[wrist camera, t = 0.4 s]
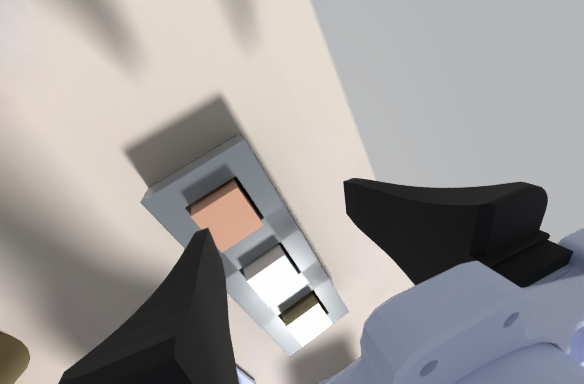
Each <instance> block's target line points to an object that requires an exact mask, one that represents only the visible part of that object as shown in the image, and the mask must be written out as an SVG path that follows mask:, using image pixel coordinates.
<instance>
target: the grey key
mask: <svg viewBox="0 0 584 384" xmlns="http://www.w3.org/2000/svg"><path fill="white" fill-rule="evenodd" d="M243 270H244V274H245V278H246V281H247V282H248V284H249V285H250V286H251V287H252V288H253V289H254V291H255V292H256V293H257V294H258V295H259V296H260V297H261V299H262V300H263V301H264V302H265V303H266V304H267V305H268V307H269V306H270V305H272V304H273V303H274V302H276V301H277V300H279V299H280V298H281V297H283V296H284V295H286V294H287V293H288V292H290V291H291V290H293V289H294V288H295V287H297V286H298V285H300V284H301V283H302V282H303V281H302V279H301V277H300V276H299V274H298V272H297V271H296V269H295V267H294V265H293V264H292V262H291V261H290V259H289V258H288V256H287V255H286V253H285V252H284V250H283V249H282V247H281V246H280V245H279V243H278V244H277V245H275V246H274V247H272V248H271V249H269V250H268V251H266V252H265V253H263V254H262V255H260V256H259V257H257V258H256V259H254V260H253V261H252V262H250V263H249V264H247V265H246V266H244V267H243Z"/></svg>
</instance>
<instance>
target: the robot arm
mask: <svg viewBox="0 0 584 384" xmlns="http://www.w3.org/2000/svg"><path fill="white" fill-rule="evenodd" d="M343 183H344V193H345V203H346V213H347V215H348V216H349V217H350V219H351V220H352V221H353V222H354V224H355V225H356V226H357V227H358V228H359V229H360V230H361V231H362V232H363V233H364V234H366V235H367V236H368V237H369V238H370V239H371V240H372V241H373V242H375V243H376V244H377V245H378V246H379V247H380V248H381V249H382V250H383V251H385V252H386V253H387V254H388V255H389V256H390V257H391V258H392V259H393V260H394V261H395V263H396V264H397V265H398V266H399V267H400V268H401V269H402V270H403V272H404V273H405V274H406V275H407V276H408V277H409V279H410V280H411V281H412V282H413V283H414V285H415V286H414V287H412V288H410V289H408V290H406V291H404V292H402V293H399V294H397V295H395V296H393V297H391V298H390V299H388V300H387V301H385V302H384V303H383V304H381V305H380V306H378V307H377V308H376V309H375V310H374V311H373V312H372V314H371V315H370V316H369V318H368V319H367V320H366V322H365V323H364V327H363V331H362V335H361V340H360V344H361V356H360V357H359V358H358V359H356V360H355V361H354V362H353V363H351V364H350V365H349V366H347V367H346V368H345V369H344V370H342V371H340V372H338V373H336V374H335V375H333V376H331V377H329V378H327V379H325V380H323V381H322V382H320V383H318V384H584V228H583V229H580V230H578V231H576V232H574V233H572V234H570V235H568V236H566V237H564V238H563V239H561V240H560V242H559V243H558V244H556V243H553V242H551V241H549V240H547V239H549V237H550V235H549V234H548V233H546V232H543V231H541V230H539V229H540V226H541V223H542V219H543V217H544V214H545V211H546V207H547V201H548V197H547V194H546V192H545V190H544V189H543V188H542V187H539V186H536V185H532V184H529V183H525V182H515V183H507V184H500V185H492V186H480V187H465V188H429V187H413V186H405V185H397V184H391V183H385V182H379V181H373V180H367V179H360V178H352V179H349V180H346V181H343ZM58 384H256V382H255V381H254V380H252V379H251V378H250V377H249V376H247V375H246V374H245V373H244V372H242V371H241V370H240V369H239V368H238V367H236V364H235V358H234V353H233V347H232V341H231V336H230V329H229V320H228V304H227V289H226V277H225V272H224V267H223V262H222V259H221V256H220V254H219V252H218V249H217V247H216V245H215V242H214V240H213V237H212V235H211V233H210V230H209V228H205V229H202V230H199V231H196V232H195V233H194V235H193V236H192V238H191V240H190V242H189V243H188V245H187V247H186V249H185V250H184V252H183V254H182V255H181V257H180V259H179V260H178V262H177V263H176V265H175V266H174V267H173V269H172V270H171V272H170V273H169V275H168V276H167V277H166V279H165V280H164V281H163V283H162V284H161V285H160V286H159V287H158V289H157V290H156V291H155V292H154V293H153V294H152V296H151V297H150V298H149V299H148V300H147V301H146V302H145V303H144V304H143V305H142V306H141V307H140V308H139V309H138V310H137V311H136V312H135V313H134V314H133V315H132V316H131V317H130V318H129V319H128V320H127V321H126V322H125V323H124V324H123V325H121V326H120V327H119V328H118V329H117V330H116V331H115V332H114V333H112V334H111V335H110V336H109V337H108V338H107V339H105V340H104V341H103V342H102V343H101V344H100V345H98V346H97V347H96V348H94V349H93V350H92V351H91V352H89V353H88V354H87V355H86V356H84V357H83V358H82V359H80V360H79V361H78V362H77V363H75V364H74V365H73V366H71V367H70V368H69V369H67V370H66V371H65V372H64V373H63V375H62V377H61V379H60V381H59V383H58Z"/></svg>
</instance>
